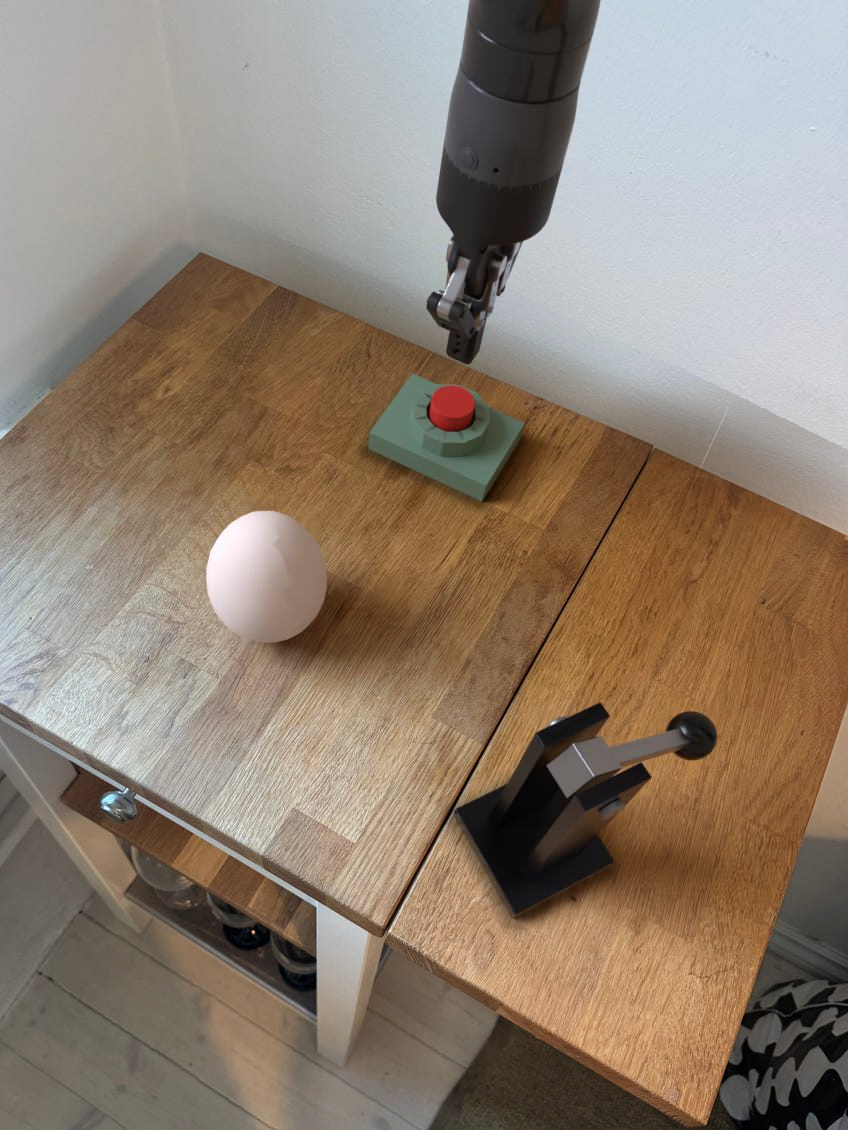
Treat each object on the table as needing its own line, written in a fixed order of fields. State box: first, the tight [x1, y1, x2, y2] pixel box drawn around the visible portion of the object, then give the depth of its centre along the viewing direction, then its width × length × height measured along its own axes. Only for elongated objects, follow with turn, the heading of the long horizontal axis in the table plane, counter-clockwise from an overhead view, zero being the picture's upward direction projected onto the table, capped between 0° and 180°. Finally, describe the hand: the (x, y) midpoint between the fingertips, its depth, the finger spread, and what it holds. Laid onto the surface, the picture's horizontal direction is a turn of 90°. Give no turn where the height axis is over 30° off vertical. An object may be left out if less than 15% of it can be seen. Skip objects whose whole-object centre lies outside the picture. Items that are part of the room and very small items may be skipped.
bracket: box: [452, 701, 652, 919], centre depth 57 cm, size 8×8×16 cm
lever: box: [547, 710, 718, 798], centre depth 56 cm, size 15×3×3 cm
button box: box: [367, 373, 526, 503], centre depth 79 cm, size 8×11×4 cm
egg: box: [205, 510, 328, 644], centre depth 66 cm, size 9×9×12 cm
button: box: [429, 384, 475, 432], centre depth 77 cm, size 4×4×2 cm
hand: (462, 354), depth 72 cm, fingers closed
